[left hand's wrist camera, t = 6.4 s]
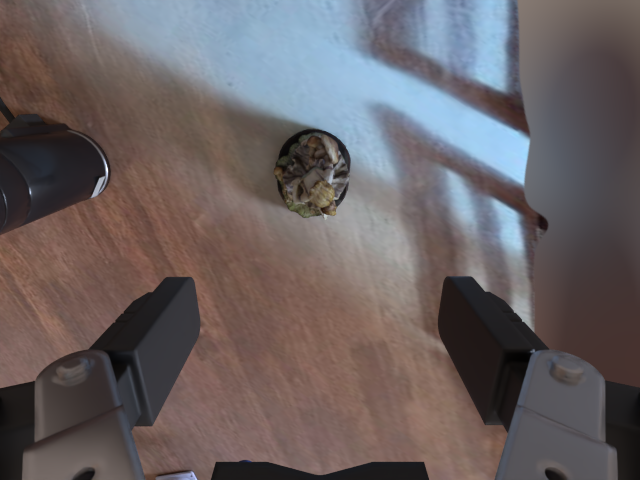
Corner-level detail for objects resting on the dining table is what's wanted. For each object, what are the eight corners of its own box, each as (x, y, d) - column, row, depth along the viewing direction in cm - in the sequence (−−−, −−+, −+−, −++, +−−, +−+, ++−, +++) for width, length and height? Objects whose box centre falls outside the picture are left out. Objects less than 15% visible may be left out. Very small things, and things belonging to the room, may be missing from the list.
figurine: (298, 114, 45) (289, 119, 31) (369, 155, 47) (389, 178, 33) (259, 192, 49) (235, 227, 35) (326, 227, 51) (328, 274, 37)
